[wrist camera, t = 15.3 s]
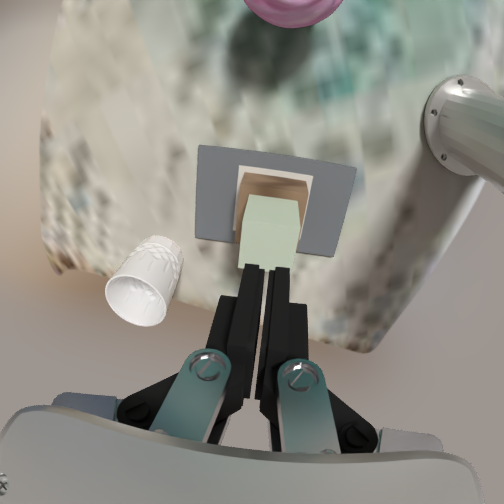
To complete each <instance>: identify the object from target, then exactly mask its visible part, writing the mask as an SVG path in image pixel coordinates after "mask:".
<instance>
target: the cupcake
mask: <svg viewBox="0 0 504 504" xmlns="http://www.w3.org/2000/svg"><path fill="white" fill-rule="evenodd" d="M342 1H343V0H244V2H245V3H246V5H247V6H248V7H249V8H250V9H251V10H252V11H253V12H254V13H256V14H257V15H258V16H259V17H260V18H262V19H263V20H265V21H267V22H268V23H271V24H273V25H276V26H279V27H283V28H299V27H305V26H310V25H313V24H316V23H318V22H320V21H322V20H324V19H325V18H327V17H328V16H330V15H331V14H332V13H333V12H334V11H335V10H336V9H337V8H338V7H339V5H340V4H341V3H342Z"/></svg>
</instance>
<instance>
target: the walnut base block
mask: <svg viewBox="0 0 504 504" xmlns="http://www.w3.org/2000/svg"><path fill="white" fill-rule="evenodd" d="M249 194H251V195H259V196H266V197H274V198H281V199H288V200H295V201H298V208H299V218H300V227H301V229H302V224H303V220H304V215H305V210H306V205H307V200H308V195H309V192H308V188H307V183H306V181H304V180H297V179H291V178H284V177H278V176H271V175H264V174H256V173H249V172H245V173H244V175H243V178H242V181H241V184H240V193H239V202H238V212H237V222H236V233H235V243H240V241H241V231H242V221H243V217H244V213H245V209H246V205H247V201H248V197H249ZM301 229H300V233H299V238H300V234H301ZM299 238H298V243H299ZM298 243H297V248H298ZM297 248H296V251H297Z"/></svg>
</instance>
